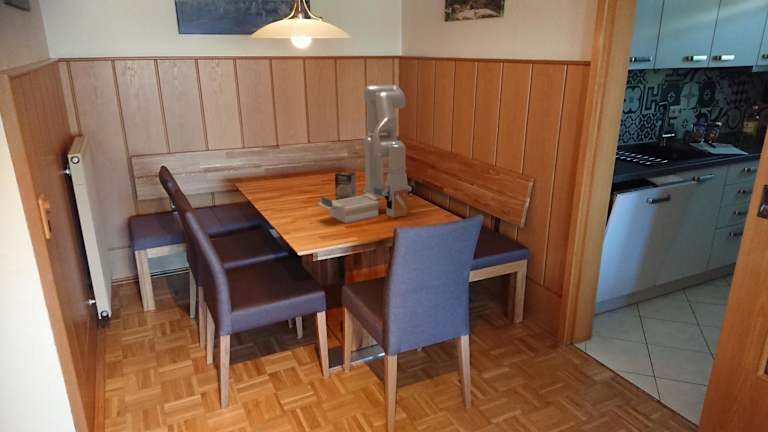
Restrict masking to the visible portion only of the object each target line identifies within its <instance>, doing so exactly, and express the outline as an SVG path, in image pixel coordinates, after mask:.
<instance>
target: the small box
mask: <svg viewBox="0 0 768 432" xmlns="http://www.w3.org/2000/svg"><path fill="white" fill-rule="evenodd" d="M388 192H389V194H390V191H388ZM388 192H387V194H388ZM387 194H386V195H387ZM389 197H390V195H389ZM408 198H409V195H408V189H407V188H406V189H401V190H395V191H393V195H392V199H391V201H392V209H389V208H387V200H386V199H385V200H386V207H385V208H386V210H385V211H386V213H385V214H386V215H387V216H389V217H391V218H393V219H394V218H399V217H404V216H408V202H409V201H408Z"/></svg>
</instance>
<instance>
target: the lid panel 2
mask: <svg viewBox="0 0 768 432" xmlns="http://www.w3.org/2000/svg"><path fill="white" fill-rule="evenodd" d="M383 191H384V190H382V189H379V188H376V187H373V192H372V193H367V194H365V193H362V194H361V196H364V197H367V198H369V199H372V200H375V201H380V200H386V199H385V198H384V196H383V195H382V192H383Z"/></svg>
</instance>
